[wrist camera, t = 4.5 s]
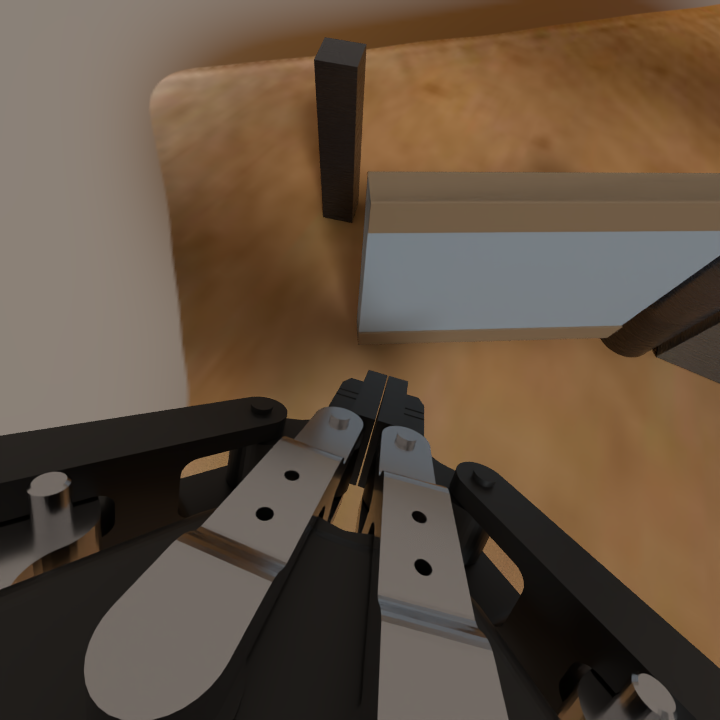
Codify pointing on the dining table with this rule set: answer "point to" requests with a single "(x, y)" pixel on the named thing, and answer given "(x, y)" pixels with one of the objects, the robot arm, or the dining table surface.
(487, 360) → the dining table surface
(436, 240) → the gate
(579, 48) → the dining table surface
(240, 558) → the robot arm
